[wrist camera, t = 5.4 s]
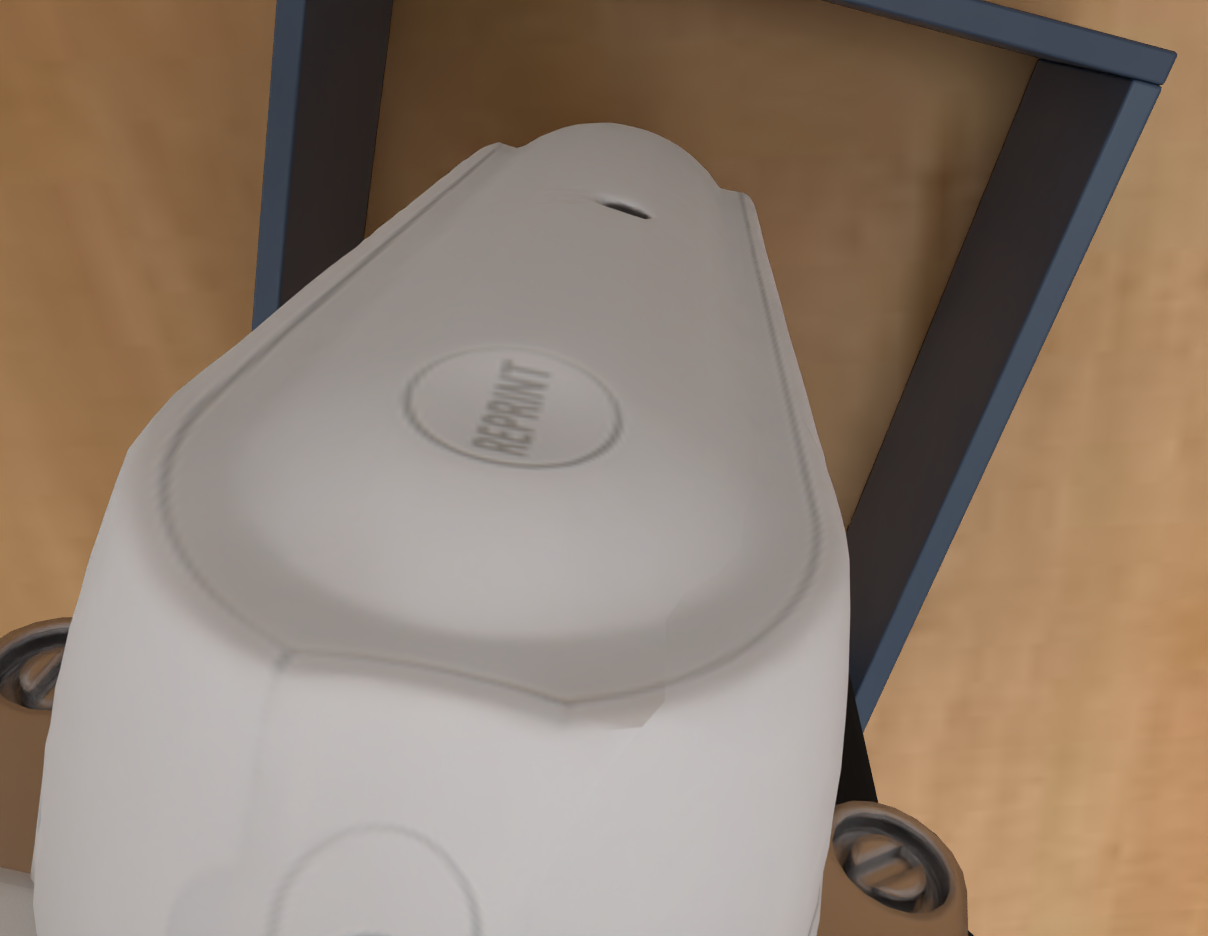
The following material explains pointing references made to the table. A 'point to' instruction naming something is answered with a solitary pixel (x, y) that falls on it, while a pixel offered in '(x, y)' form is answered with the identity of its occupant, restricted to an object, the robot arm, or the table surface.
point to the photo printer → (471, 590)
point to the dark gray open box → (961, 323)
